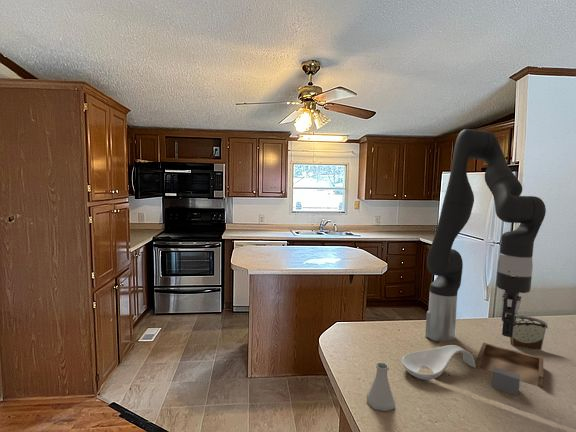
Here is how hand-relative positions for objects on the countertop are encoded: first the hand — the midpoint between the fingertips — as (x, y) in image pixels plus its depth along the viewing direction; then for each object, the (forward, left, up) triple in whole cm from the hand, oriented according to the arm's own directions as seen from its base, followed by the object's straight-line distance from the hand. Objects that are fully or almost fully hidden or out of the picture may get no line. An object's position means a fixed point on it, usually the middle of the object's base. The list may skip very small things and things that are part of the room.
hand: (508, 330), depth 88 cm
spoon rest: (-17, 0, -18) cm, 24 cm away
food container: (+2, +37, -18) cm, 41 cm away
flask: (-24, -26, -18) cm, 40 cm away
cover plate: (0, 0, -18) cm, 18 cm away
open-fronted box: (0, +13, -17) cm, 22 cm away
